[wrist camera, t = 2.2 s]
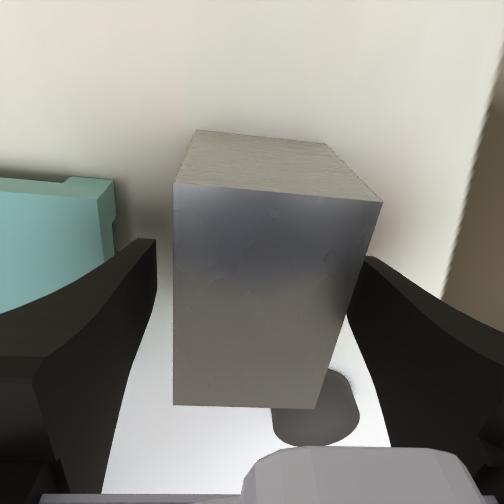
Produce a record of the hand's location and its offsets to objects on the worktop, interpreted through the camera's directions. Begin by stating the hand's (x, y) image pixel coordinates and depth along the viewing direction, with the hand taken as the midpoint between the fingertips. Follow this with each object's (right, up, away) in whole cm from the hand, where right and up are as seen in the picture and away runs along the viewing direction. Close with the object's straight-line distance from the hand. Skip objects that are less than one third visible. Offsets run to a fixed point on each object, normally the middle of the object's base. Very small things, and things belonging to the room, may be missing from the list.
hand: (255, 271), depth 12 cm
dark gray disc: (+3, -8, +9) cm, 13 cm away
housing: (0, +2, +3) cm, 3 cm away
